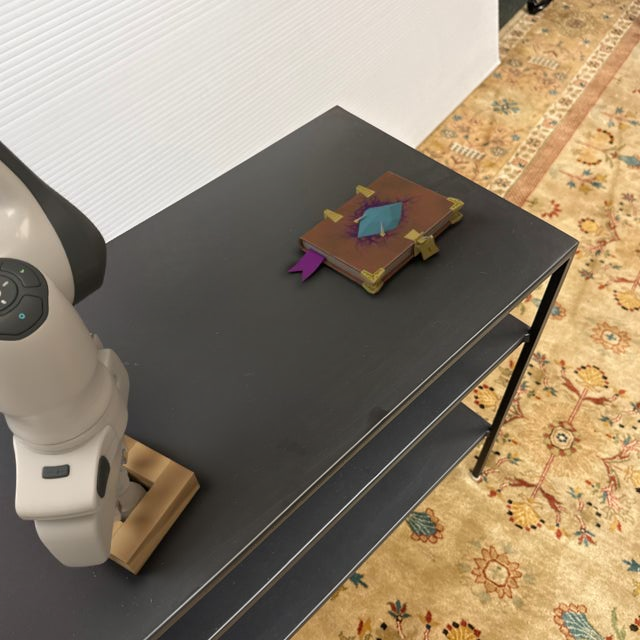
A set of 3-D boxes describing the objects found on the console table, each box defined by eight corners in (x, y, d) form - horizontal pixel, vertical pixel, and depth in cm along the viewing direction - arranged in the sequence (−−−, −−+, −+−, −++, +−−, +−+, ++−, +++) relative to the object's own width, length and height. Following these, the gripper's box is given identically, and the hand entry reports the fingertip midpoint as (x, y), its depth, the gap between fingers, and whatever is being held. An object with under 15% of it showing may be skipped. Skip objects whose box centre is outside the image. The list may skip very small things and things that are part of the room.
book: (276, 270, 93) (271, 244, 89) (385, 186, 104) (385, 159, 100) (362, 323, 85) (361, 297, 81) (471, 226, 96) (474, 199, 92)
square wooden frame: (57, 524, 69) (45, 511, 66) (125, 444, 75) (116, 429, 72) (136, 575, 65) (126, 563, 63) (200, 486, 71) (194, 472, 68)
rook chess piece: (159, 498, 70) (140, 464, 64) (132, 533, 68) (109, 502, 62) (128, 480, 72) (106, 445, 66) (100, 513, 70) (75, 480, 63)
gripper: (55, 326, 62) (99, 403, 73) (9, 533, 49) (71, 590, 60) (121, 320, 62) (155, 397, 73) (93, 524, 49) (139, 582, 60)
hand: (117, 486), depth 66 cm, fingers open, 5 cm apart
